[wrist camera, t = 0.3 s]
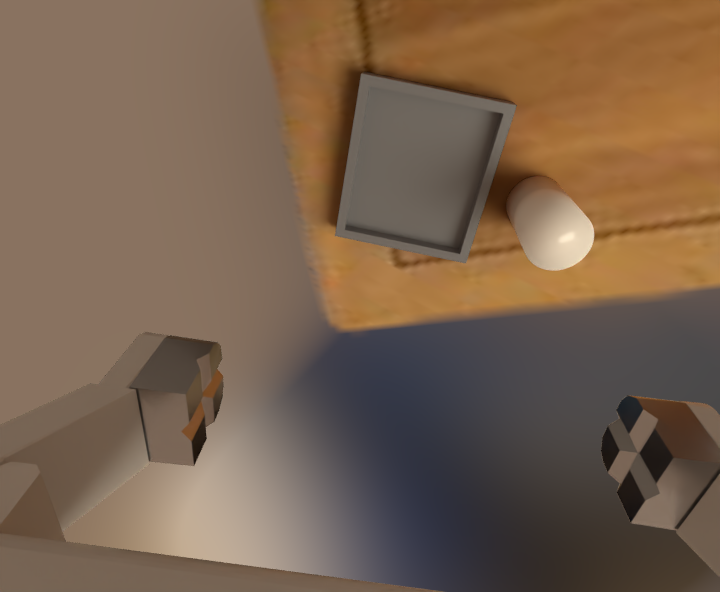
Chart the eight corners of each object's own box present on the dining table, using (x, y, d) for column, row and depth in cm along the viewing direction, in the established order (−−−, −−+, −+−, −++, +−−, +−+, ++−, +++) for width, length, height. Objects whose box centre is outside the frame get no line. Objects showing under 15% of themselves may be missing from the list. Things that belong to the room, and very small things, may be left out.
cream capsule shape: (516, 170, 53) (537, 201, 44) (573, 182, 53) (605, 215, 44) (498, 223, 57) (514, 262, 47) (551, 234, 56) (577, 276, 47)
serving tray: (363, 71, 50) (361, 73, 48) (512, 102, 50) (516, 105, 48) (338, 228, 59) (335, 235, 57) (464, 254, 59) (465, 263, 57)
